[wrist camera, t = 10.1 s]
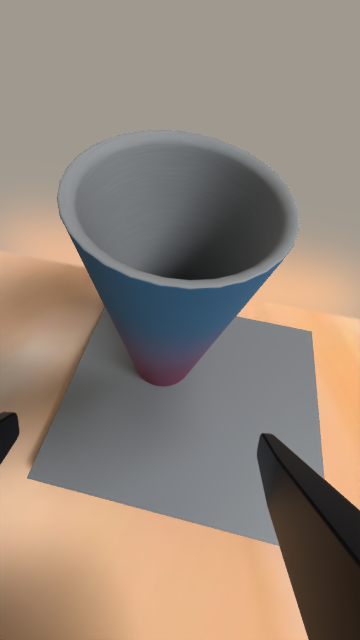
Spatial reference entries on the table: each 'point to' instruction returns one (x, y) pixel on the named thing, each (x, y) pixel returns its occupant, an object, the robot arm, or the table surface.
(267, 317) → the table surface
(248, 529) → the board
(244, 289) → the cup
